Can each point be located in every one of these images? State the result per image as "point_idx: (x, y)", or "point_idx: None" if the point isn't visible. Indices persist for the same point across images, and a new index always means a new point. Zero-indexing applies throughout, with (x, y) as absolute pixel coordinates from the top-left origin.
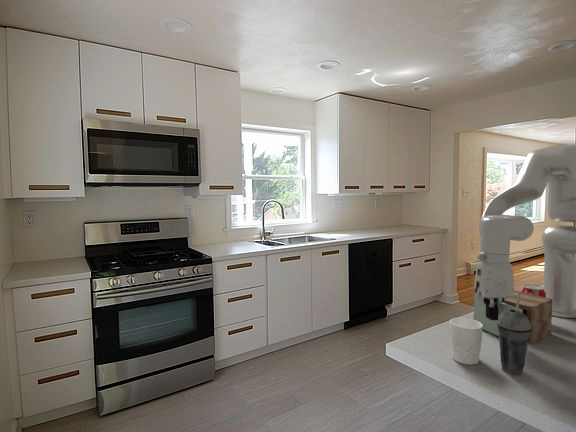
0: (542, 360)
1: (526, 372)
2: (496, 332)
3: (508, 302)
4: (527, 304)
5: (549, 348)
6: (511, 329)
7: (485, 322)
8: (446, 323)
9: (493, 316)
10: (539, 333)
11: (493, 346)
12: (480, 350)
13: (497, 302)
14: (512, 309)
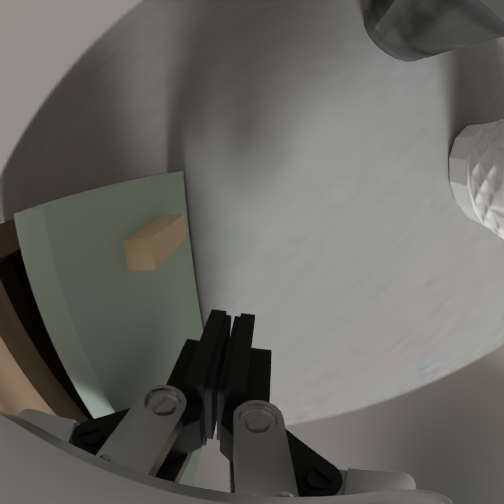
0: (196, 42)
1: (353, 2)
2: (193, 299)
3: (48, 393)
4: None
5: (76, 135)
6: None
7: None
8: (294, 422)
9: (251, 333)
10: None
11: (297, 213)
12: (485, 128)
13: (173, 433)
14: (78, 289)
